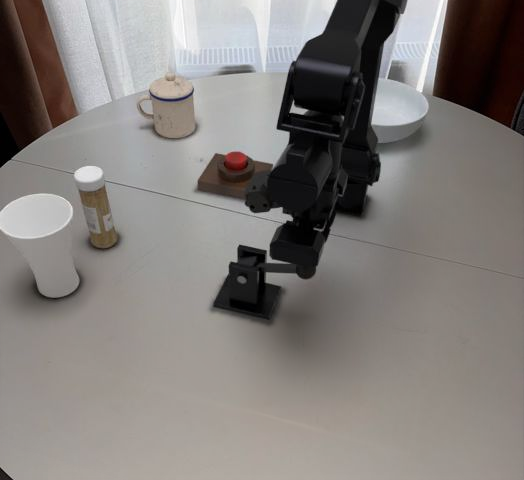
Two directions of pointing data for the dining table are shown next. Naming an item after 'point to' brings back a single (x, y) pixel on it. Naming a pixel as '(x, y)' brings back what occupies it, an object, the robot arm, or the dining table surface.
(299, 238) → the robot arm
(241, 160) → the button
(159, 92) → the teacup with lid
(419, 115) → the serving bowl
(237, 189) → the switch block
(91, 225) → the sprinkles bottle
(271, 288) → the bracket
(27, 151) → the dining table surface
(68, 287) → the cup
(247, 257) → the lever
